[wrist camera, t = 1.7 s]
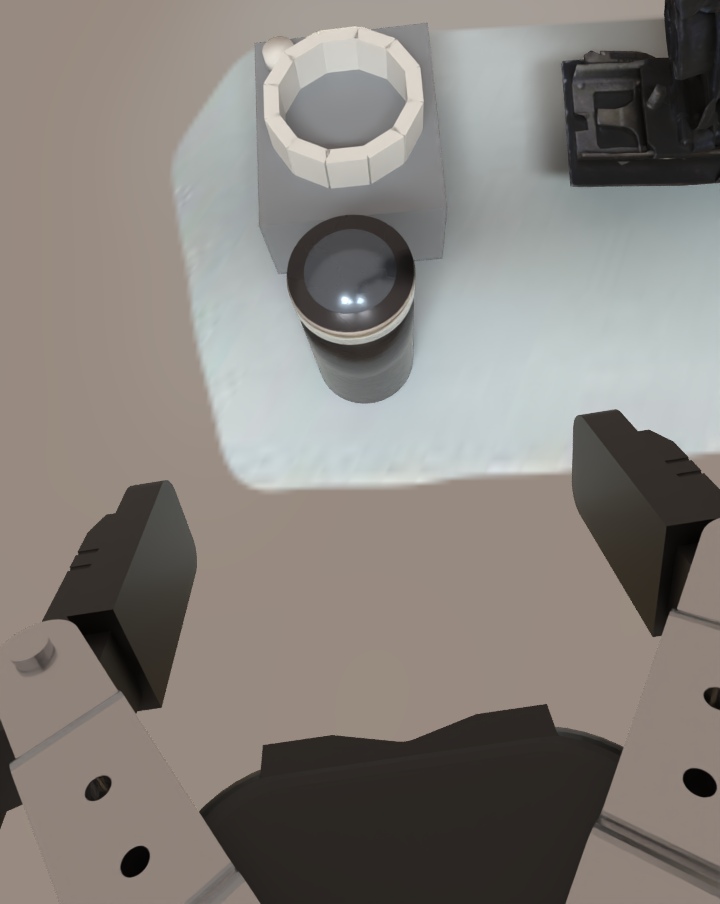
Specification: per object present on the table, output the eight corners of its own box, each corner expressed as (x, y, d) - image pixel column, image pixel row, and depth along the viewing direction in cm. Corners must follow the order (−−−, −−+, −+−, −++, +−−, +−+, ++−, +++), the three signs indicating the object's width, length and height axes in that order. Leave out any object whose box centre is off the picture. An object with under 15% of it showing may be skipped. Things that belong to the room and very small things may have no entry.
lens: (409, 310, 37) (409, 206, 27) (417, 400, 36) (420, 324, 26) (316, 318, 38) (283, 219, 28) (320, 407, 36) (287, 336, 26)
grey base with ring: (425, 91, 41) (428, -11, 34) (442, 258, 38) (449, 182, 31) (272, 108, 41) (245, 11, 34) (278, 273, 38) (250, 203, 32)
